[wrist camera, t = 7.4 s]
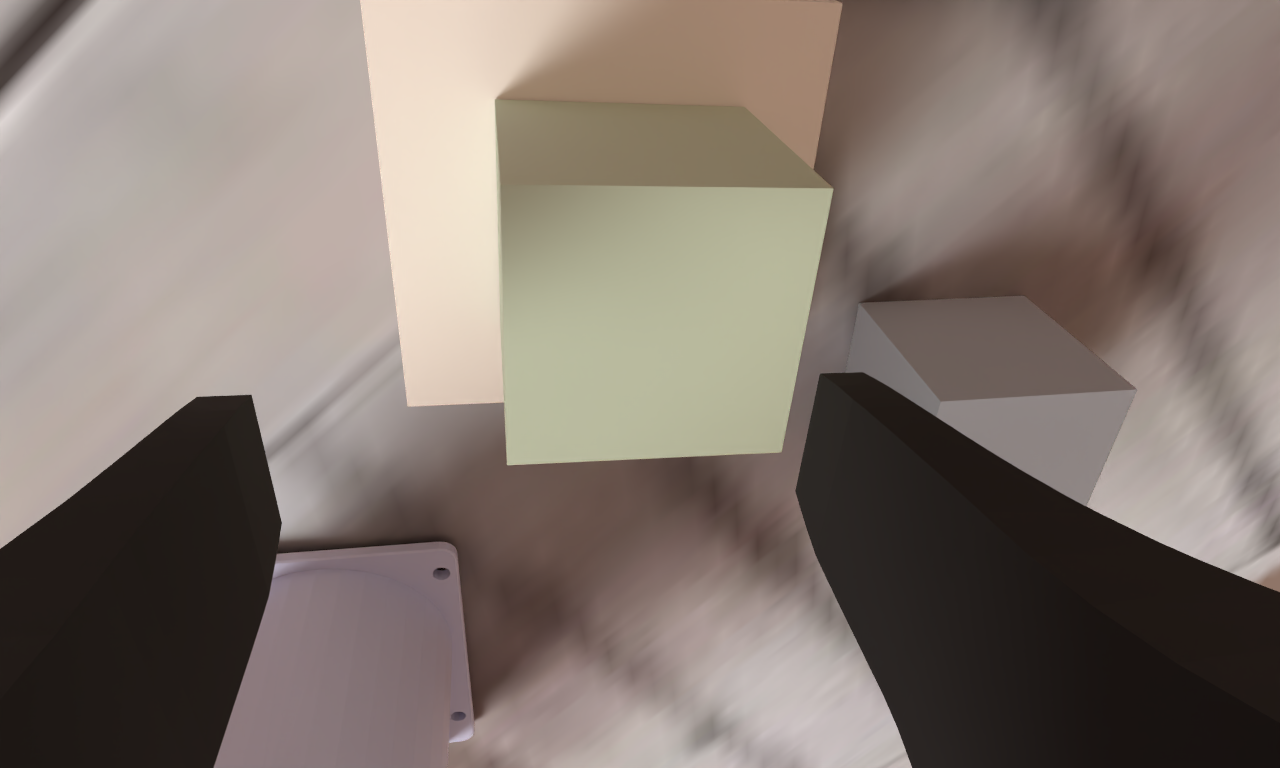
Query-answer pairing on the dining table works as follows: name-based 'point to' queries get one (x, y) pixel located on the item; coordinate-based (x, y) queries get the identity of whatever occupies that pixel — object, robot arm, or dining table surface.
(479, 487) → the dining table surface
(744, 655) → the dining table surface
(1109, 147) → the dining table surface
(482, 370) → the base block
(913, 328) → the grey block
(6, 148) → the dining table surface
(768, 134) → the sage block
